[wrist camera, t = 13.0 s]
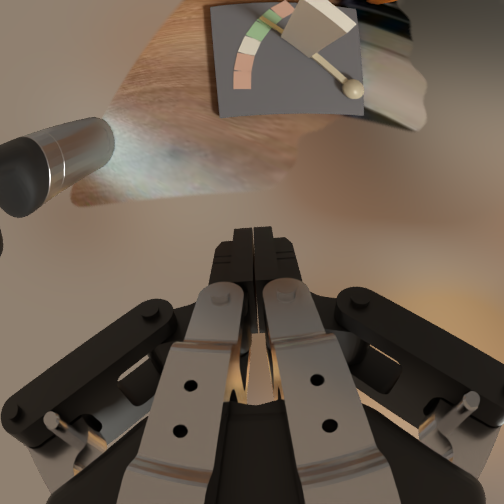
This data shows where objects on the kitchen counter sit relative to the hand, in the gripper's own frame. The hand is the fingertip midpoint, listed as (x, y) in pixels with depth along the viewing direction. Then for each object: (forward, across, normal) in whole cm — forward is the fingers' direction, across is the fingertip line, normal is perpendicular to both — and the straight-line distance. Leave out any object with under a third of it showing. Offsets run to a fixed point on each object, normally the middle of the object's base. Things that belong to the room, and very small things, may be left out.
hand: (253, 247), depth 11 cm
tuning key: (+29, -9, -13) cm, 33 cm away
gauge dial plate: (+31, -6, -13) cm, 34 cm away
